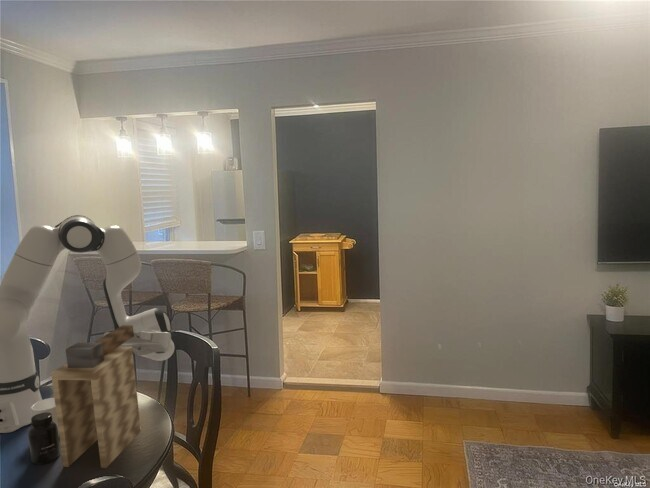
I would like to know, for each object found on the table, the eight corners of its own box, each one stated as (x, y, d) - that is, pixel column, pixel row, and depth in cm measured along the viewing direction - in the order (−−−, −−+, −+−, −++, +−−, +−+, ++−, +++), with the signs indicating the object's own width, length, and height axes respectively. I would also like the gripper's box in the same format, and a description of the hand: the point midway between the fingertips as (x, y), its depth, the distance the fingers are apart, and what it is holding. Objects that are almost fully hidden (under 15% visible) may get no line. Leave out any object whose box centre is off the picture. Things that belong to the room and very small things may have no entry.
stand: (102, 429, 141) (93, 346, 137) (140, 430, 140) (132, 346, 136) (63, 466, 123) (51, 372, 119) (106, 468, 122) (95, 372, 118)
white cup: (52, 444, 134) (48, 411, 133) (29, 442, 136) (24, 409, 135) (72, 429, 142) (68, 398, 141) (49, 427, 144) (45, 396, 142)
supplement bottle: (48, 466, 124) (42, 423, 122) (25, 464, 125) (19, 422, 123) (66, 451, 130) (61, 410, 129) (44, 449, 132) (39, 409, 130)
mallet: (117, 336, 146) (116, 320, 145) (139, 336, 145) (137, 320, 144) (67, 367, 122) (65, 349, 121) (93, 367, 121) (90, 349, 121)
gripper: (117, 333, 158) (94, 324, 146) (175, 333, 156) (157, 324, 143) (114, 352, 156) (90, 344, 143) (173, 352, 154) (154, 345, 141)
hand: (124, 334), depth 143 cm, fingers open, 8 cm apart
